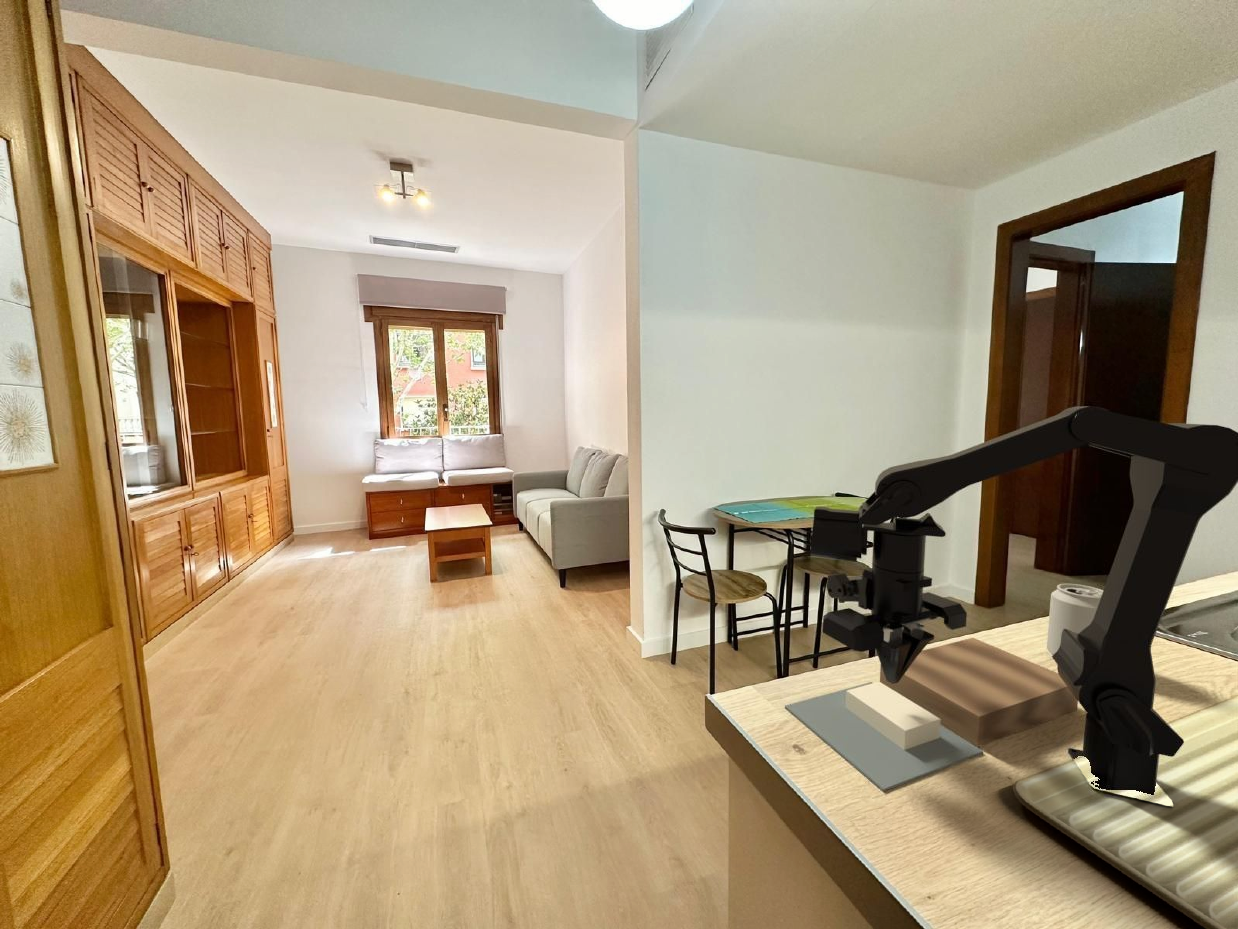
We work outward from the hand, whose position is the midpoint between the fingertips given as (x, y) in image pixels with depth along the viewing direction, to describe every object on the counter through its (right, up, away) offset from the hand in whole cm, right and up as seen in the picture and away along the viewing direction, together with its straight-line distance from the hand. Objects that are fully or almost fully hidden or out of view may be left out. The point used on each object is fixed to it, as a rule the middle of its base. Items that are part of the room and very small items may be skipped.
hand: (891, 682), depth 62 cm
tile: (0, -4, 0) cm, 4 cm away
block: (+15, -5, +6) cm, 17 cm away
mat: (-2, -6, 0) cm, 6 cm away
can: (+39, -4, +16) cm, 42 cm away
